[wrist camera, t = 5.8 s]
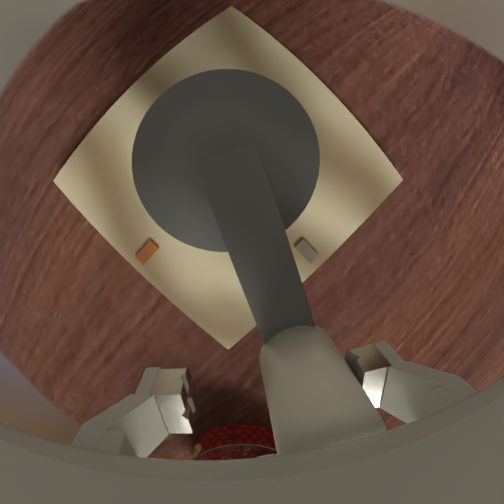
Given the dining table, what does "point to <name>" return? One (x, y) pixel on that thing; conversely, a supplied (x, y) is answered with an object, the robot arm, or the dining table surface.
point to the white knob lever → (253, 234)
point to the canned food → (235, 443)
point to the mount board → (210, 262)
